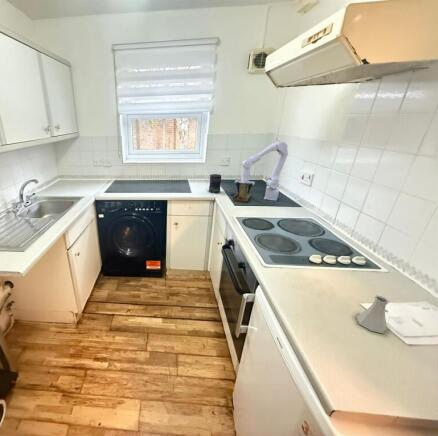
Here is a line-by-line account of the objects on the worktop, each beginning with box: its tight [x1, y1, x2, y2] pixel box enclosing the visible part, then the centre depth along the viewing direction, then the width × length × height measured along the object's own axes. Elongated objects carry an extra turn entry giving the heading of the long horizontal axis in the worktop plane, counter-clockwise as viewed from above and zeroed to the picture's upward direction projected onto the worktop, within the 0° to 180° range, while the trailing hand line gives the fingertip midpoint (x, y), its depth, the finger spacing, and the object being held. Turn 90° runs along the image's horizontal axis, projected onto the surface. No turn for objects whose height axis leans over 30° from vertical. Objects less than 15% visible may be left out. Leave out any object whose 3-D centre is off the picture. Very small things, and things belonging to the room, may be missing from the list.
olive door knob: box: [239, 183, 249, 198], centre depth 191 cm, size 6×6×11 cm
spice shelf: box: [232, 190, 252, 204], centre depth 192 cm, size 10×18×4 cm, turn 148°
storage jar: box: [208, 173, 222, 194], centre depth 211 cm, size 10×10×15 cm
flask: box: [356, 295, 390, 334], centre depth 73 cm, size 7×7×10 cm
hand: (243, 192), depth 192 cm, fingers open, 7 cm apart
